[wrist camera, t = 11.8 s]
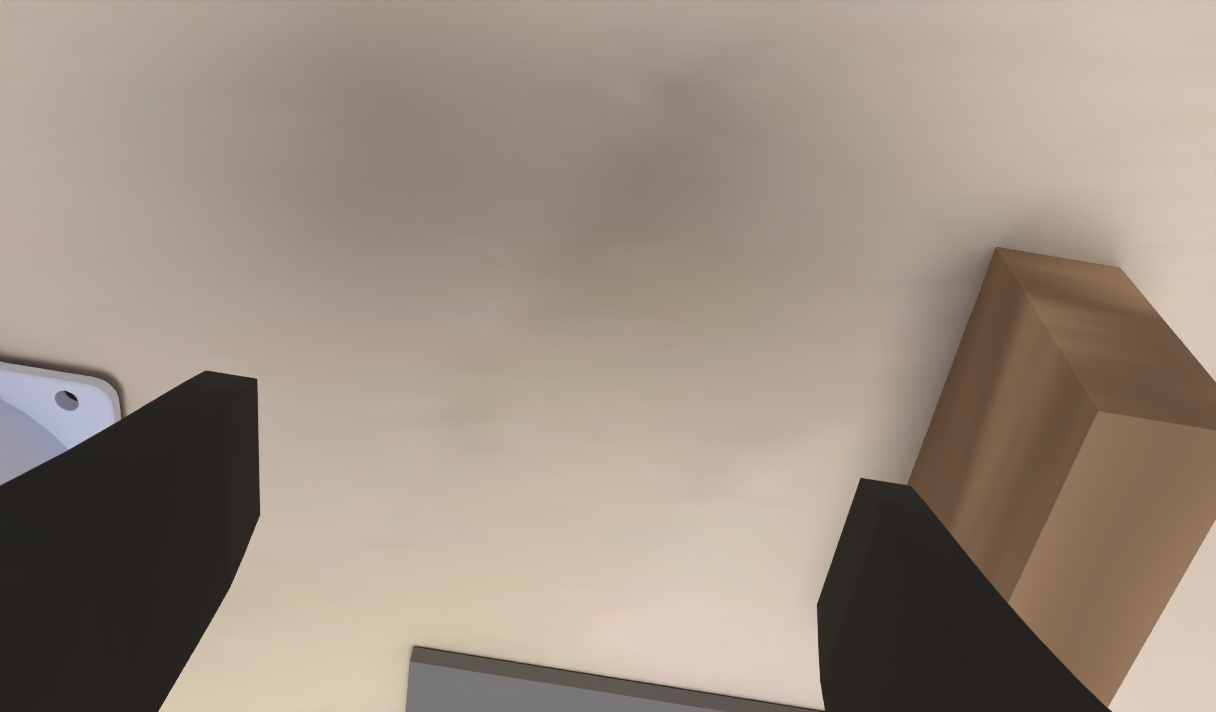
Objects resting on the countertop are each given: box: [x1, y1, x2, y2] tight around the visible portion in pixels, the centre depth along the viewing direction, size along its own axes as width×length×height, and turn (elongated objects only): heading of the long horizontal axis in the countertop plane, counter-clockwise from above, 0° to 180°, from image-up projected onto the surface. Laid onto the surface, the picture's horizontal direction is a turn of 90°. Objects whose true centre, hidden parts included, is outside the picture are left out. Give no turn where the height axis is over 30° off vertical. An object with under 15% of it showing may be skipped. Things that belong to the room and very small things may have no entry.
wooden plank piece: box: [907, 247, 1216, 708], centre depth 21 cm, size 2×10×6 cm, turn 171°
